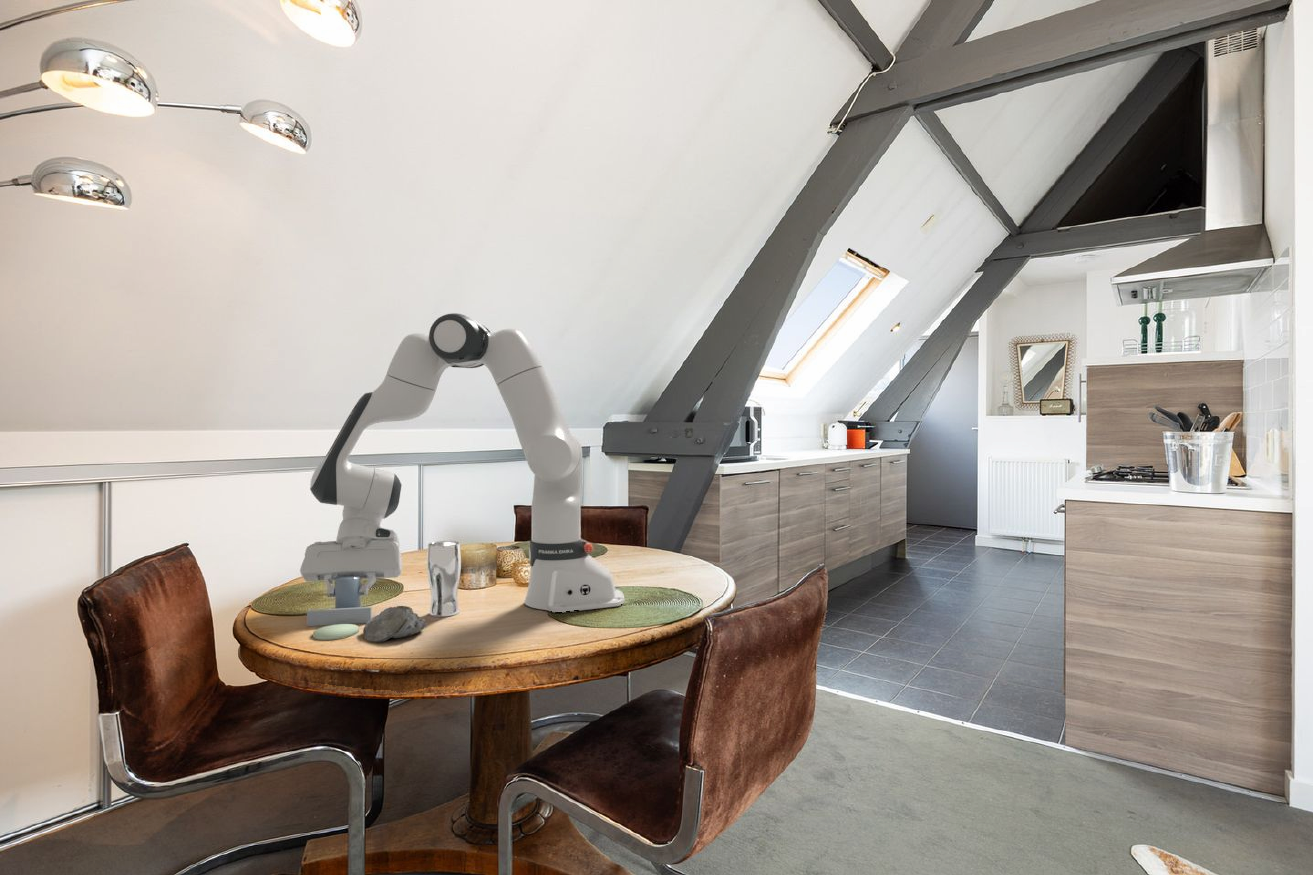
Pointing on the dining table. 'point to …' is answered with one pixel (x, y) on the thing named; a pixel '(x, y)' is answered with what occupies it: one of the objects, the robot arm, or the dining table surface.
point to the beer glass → (444, 577)
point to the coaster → (335, 632)
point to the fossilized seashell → (393, 624)
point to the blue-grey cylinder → (347, 591)
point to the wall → (339, 616)
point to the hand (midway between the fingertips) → (347, 594)
